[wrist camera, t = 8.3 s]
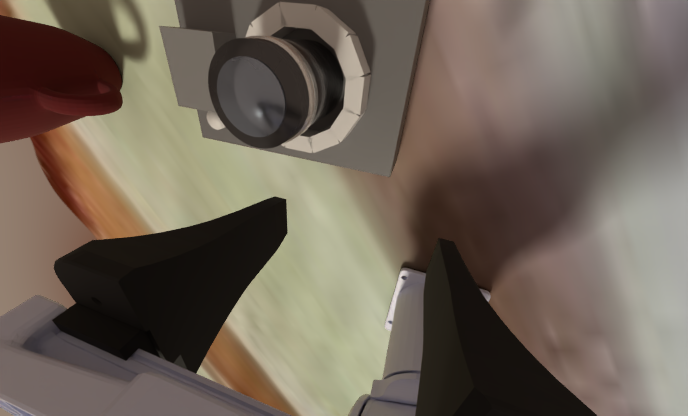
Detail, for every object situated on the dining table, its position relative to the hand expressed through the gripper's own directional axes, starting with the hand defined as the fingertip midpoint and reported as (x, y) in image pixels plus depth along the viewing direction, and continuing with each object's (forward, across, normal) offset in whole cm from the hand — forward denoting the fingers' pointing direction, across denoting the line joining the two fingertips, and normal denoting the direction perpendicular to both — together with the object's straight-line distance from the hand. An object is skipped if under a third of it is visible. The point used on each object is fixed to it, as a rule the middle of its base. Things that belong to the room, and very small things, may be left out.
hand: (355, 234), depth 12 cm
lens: (+7, +6, -5) cm, 10 cm away
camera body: (+10, +7, -5) cm, 13 cm away
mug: (+10, +26, -3) cm, 28 cm away
